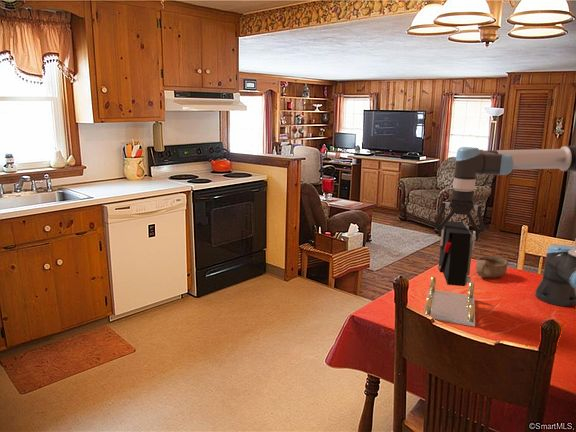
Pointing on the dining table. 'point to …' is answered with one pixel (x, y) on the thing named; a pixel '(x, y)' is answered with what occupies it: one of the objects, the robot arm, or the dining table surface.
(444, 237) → the electrical component
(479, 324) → the dining table surface
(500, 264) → the bowl
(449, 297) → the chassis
